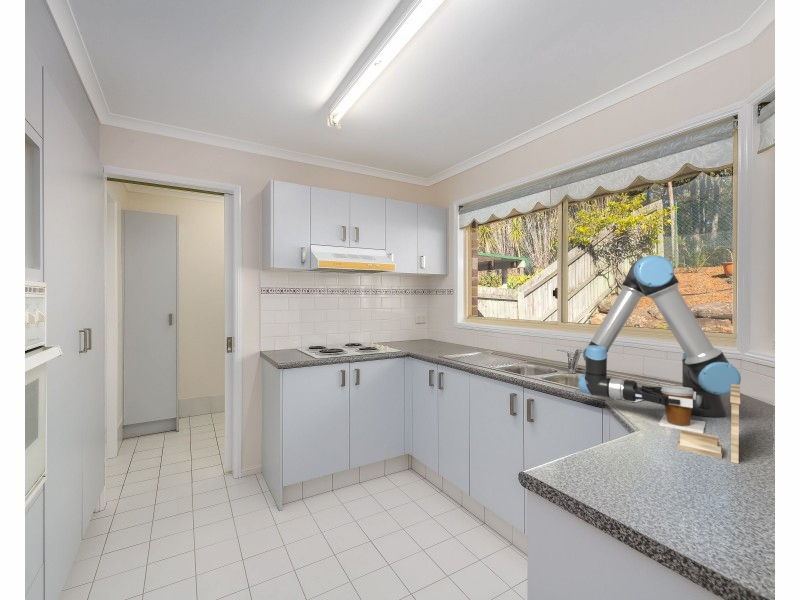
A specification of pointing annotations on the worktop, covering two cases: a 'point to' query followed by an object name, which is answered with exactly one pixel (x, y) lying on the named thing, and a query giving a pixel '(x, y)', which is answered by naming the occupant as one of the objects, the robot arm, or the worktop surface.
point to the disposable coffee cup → (678, 413)
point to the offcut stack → (700, 444)
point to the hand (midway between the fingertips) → (694, 399)
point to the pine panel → (735, 422)
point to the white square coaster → (694, 425)
